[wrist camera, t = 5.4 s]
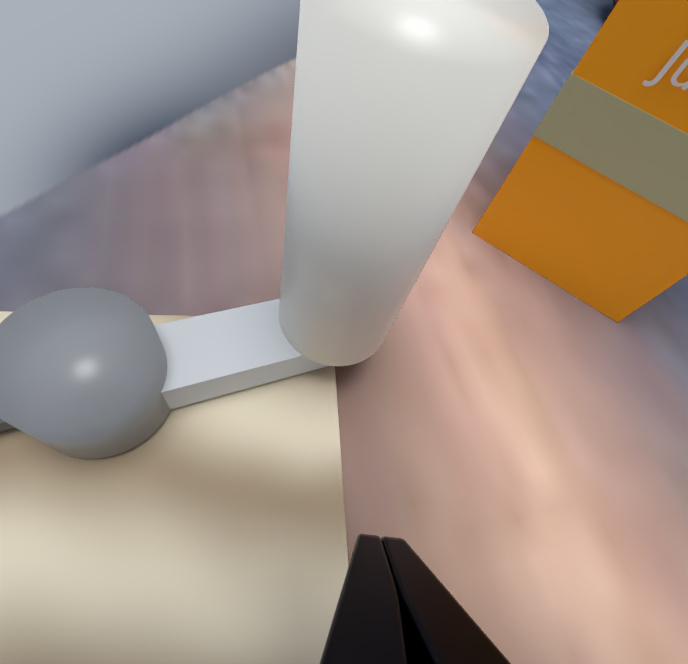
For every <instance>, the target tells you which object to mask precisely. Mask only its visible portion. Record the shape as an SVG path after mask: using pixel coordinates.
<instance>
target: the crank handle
mask: <svg viewBox="0 0 688 664" xmlns="http://www.w3.org/2000/svg"><path fill="white" fill-rule="evenodd" d="M548 34H549V25H548V22H547V18H546V16H545V14H544V12H543V10H542V9H541V7H540V6H539V4H538V3H537V2H536V0H301V1H300V15H299V29H298V44H297V59H296V73H295V88H294V102H293V117H292V131H291V146H290V160H289V175H288V189H287V204H286V218H285V233H284V247H283V262H282V277H281V291H280V299H276V300H271V301H267V302H262V303H257V304H252V305H248V306H243V307H238V308H234V309H229V310H224V311H219V312H215V313H210V314H205V315H201V316H196V317H191V318H187V319H182V320H177V321H172V322H168V323H163V324H158V325H154V324H153V322H152V320H151V318H150V317H149V315H148V314H147V312H146V311H145V310H144V309H143V308H142V307H141V306H140V305H139V304H137V303H136V302H135V301H133V300H132V299H130V298H128V297H127V296H124V295H122V294H120V293H117V292H114V291H111V290H107V289H101V288H90V287H83V288H71V289H64V290H60V291H55V292H52V293H49V294H46V295H43V296H41V297H38V298H36V299H34V300H32V301H30V302H28V303H26V304H24V305H23V306H21V307H20V308H18V309H17V310H15V311H14V312H12V313H11V314H10V315H9V316H8V317H6V318H5V319H4V320H3V321H2V322H1V323H0V431H4V430H8V429H12V428H17V429H19V430H21V431H22V432H24V433H26V434H28V435H30V436H31V437H33V438H35V439H37V440H38V441H40V442H42V443H44V444H46V445H47V446H49V447H51V448H53V449H54V450H56V451H58V452H60V453H63V454H65V455H68V456H71V457H75V458H82V459H98V458H106V457H110V456H114V455H117V454H120V453H123V452H126V451H128V450H130V449H132V448H134V447H136V446H137V445H139V444H140V443H142V442H143V441H145V440H146V439H147V438H149V437H150V436H151V435H152V434H153V433H154V432H155V431H156V430H157V429H158V428H159V427H160V425H161V424H162V423H163V422H164V420H165V419H166V417H167V415H168V414H169V412H170V410H171V409H174V408H177V407H181V406H185V405H188V404H192V403H196V402H199V401H203V400H207V399H210V398H214V397H217V396H221V395H225V394H228V393H232V392H236V391H239V390H243V389H247V388H250V387H254V386H258V385H261V384H265V383H269V382H272V381H276V380H279V379H283V378H287V377H290V376H294V375H298V374H301V373H305V372H309V371H312V370H316V369H320V368H323V367H327V366H348V365H353V364H356V363H359V362H362V361H364V360H366V359H367V358H369V357H370V356H372V355H373V354H374V353H375V352H376V351H377V350H378V349H379V348H380V346H381V345H382V343H383V341H384V340H385V338H386V336H387V334H388V332H389V330H390V329H391V327H392V325H393V323H394V321H395V319H396V318H397V316H398V314H399V312H400V310H401V308H402V307H403V305H404V303H405V301H406V299H407V297H408V295H409V294H410V292H411V290H412V288H413V286H414V284H415V283H416V281H417V279H418V277H419V275H420V273H421V272H422V270H423V268H424V266H425V264H426V262H427V260H428V259H429V257H430V255H431V253H432V251H433V249H434V248H435V246H436V244H437V242H438V240H439V238H440V237H441V235H442V233H443V231H444V229H445V227H446V225H447V224H448V222H449V220H450V218H451V216H452V214H453V213H454V211H455V209H456V207H457V205H458V203H459V202H460V200H461V198H462V196H463V194H464V192H465V190H466V189H467V187H468V185H469V183H470V181H471V179H472V178H473V176H474V174H475V172H476V170H477V168H478V167H479V165H480V163H481V161H482V159H483V157H484V155H485V154H486V152H487V150H488V148H489V146H490V144H491V143H492V141H493V139H494V137H495V135H496V133H497V132H498V130H499V128H500V126H501V124H502V122H503V120H504V119H505V117H506V115H507V113H508V111H509V109H510V108H511V106H512V104H513V102H514V100H515V98H516V97H517V95H518V93H519V91H520V89H521V87H522V85H523V84H524V82H525V80H526V78H527V76H528V74H529V73H530V71H531V69H532V67H533V65H534V63H535V62H536V60H537V58H538V56H539V54H540V52H541V50H542V49H543V47H544V45H545V43H546V41H547V39H548Z"/></svg>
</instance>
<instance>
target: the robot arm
mask: <svg viewBox="0 0 688 664" xmlns="http://www.w3.org/2000/svg"><path fill="white" fill-rule="evenodd" d="M319 664H511V663H510V662H509V661H508V660H507V659H506V658H505V656H504V655H503V654H502V653H501V652H500V651H499V649H498V648H497V647H496V646H495V645H494V644H493V642H492V641H491V640H490V639H489V638H488V637H487V635H486V634H485V633H484V632H483V631H482V630H481V628H480V627H479V626H478V625H477V624H476V623H475V621H474V620H473V619H472V618H471V617H470V616H469V614H468V613H467V612H466V611H465V610H464V609H463V608H462V606H461V605H460V604H459V603H458V602H457V601H456V599H455V598H454V597H453V596H452V595H451V594H450V592H449V591H448V590H447V589H446V588H445V587H444V585H443V584H442V583H441V582H440V581H439V580H438V578H437V577H436V576H435V575H434V574H433V573H432V571H431V570H430V569H429V568H428V567H427V566H426V564H425V563H424V562H423V561H422V560H421V559H420V557H419V556H418V555H417V554H416V553H415V552H414V550H413V549H412V548H411V547H410V546H409V545H408V543H407V542H406V541H405V540H403V539H401V538H394V537H382V538H380V537H379V536H376V535H366V534H360V535H358V537H357V540H356V543H355V547H354V550H353V553H352V557H351V560H350V563H349V567H348V570H347V573H346V577H345V580H344V583H343V587H342V590H341V593H340V597H339V600H338V603H337V607H336V610H335V613H334V617H333V620H332V623H331V627H330V630H329V633H328V637H327V640H326V643H325V647H324V650H323V653H322V657H321V660H320V663H319Z"/></svg>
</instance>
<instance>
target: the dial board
mask: <svg viewBox="0 0 688 664" xmlns="http://www.w3.org/2000/svg"><path fill="white" fill-rule="evenodd" d="M11 313H12V312H0V323H1V322H2V321H3V320H4V319H5V318H6V317H8V316H9V315H10V314H11ZM149 317H150V318H151V320H152V322H153V324H154V325H158V324H163V323H168V322H172V321H177V320H182V319H187V318H191V317H196V316H168V315H149ZM347 570H348V552H347V537H346V523H345V508H344V493H343V479H342V464H341V449H340V435H339V420H338V405H337V391H336V376H335V366H327V367H323V368H320V369H316V370H312V371H309V372H305V373H301V374H298V375H294V376H290V377H287V378H283V379H279V380H276V381H272V382H269V383H265V384H261V385H258V386H254V387H250V388H247V389H243V390H239V391H236V392H232V393H228V394H225V395H221V396H217V397H214V398H210V399H207V400H203V401H199V402H196V403H192V404H188V405H185V406H181V407H177V408H174V409H171V410H170V412H169V414H168V415H167V417H166V419H165V420H164V422H163V423H162V424H161V425H160V427H159V428H158V429H157V430H156V431H155V432H154V433H153V434H152V435H151V436H150V437H149V438H147V439H146V440H145V441H143V442H142V443H140V444H139V445H137V446H136V447H134V448H132V449H130V450H128V451H126V452H123V453H120V454H117V455H114V456H110V457H106V458H98V459H82V458H75V457H71V456H68V455H65V454H63V453H60V452H58V451H56V450H54V449H53V448H51V447H49V446H47V445H46V444H44V443H42V442H40V441H38V440H37V439H35V438H33V437H31V436H30V435H28V434H26V433H24V432H22V431H21V430H19V429H17V428H12V429H8V430H4V431H0V664H319V663H320V660H321V657H322V653H323V650H324V647H325V643H326V640H327V637H328V633H329V630H330V627H331V623H332V620H333V617H334V613H335V610H336V607H337V603H338V600H339V597H340V593H341V590H342V587H343V583H344V580H345V577H346V573H347Z"/></svg>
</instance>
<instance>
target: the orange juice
mask: <svg viewBox="0 0 688 664" xmlns="http://www.w3.org/2000/svg"><path fill="white" fill-rule="evenodd" d="M472 233H474V234H475V235H477V236H479V237H480V238H482V239H483V240H485V241H487V242H488V243H490V244H491V245H493V246H495V247H496V248H498V249H500V250H501V251H503V252H504V253H506V254H508V255H509V256H511V257H512V258H514V259H516V260H517V261H519V262H521V263H522V264H524V265H525V266H527V267H529V268H530V269H532V270H533V271H535V272H537V273H538V274H540V275H541V276H543V277H545V278H546V279H548V280H550V281H551V282H553V283H554V284H556V285H558V286H559V287H561V288H562V289H564V290H566V291H567V292H569V293H571V294H572V295H574V296H575V297H577V298H579V299H580V300H582V301H583V302H585V303H587V304H588V305H590V306H591V307H593V308H595V309H596V310H598V311H600V312H601V313H603V314H604V315H606V316H608V317H609V318H611V319H612V320H614V321H616V322H619V321H620V320H622V319H623V318H625V317H626V316H628V315H629V314H631V313H632V312H634V311H635V310H636V309H638V308H639V307H641V306H642V305H644V304H645V303H647V302H648V301H650V300H651V299H652V298H654V297H655V296H657V295H658V294H660V293H661V292H663V291H664V290H666V289H667V288H669V287H670V286H671V285H673V284H674V283H676V282H677V281H679V280H680V279H682V278H683V277H685V276H686V275H688V0H619V1H618V2H617V4H616V5H615V7H614V8H613V10H612V12H611V13H610V15H609V16H608V18H607V20H606V21H605V23H604V24H603V26H602V28H601V29H600V31H599V32H598V34H597V35H596V37H595V39H594V40H593V42H592V43H591V45H590V47H589V48H588V50H587V51H586V53H585V54H584V56H583V58H582V59H581V61H580V62H579V64H578V66H577V67H576V68H575V69H574V71H573V72H572V73H571V74H570V76H569V78H568V79H567V81H566V82H565V84H564V86H563V87H562V89H561V90H560V92H559V94H558V95H557V97H556V98H555V100H554V101H553V103H552V105H551V106H550V108H549V109H548V111H547V113H546V114H545V116H544V117H543V119H542V121H541V122H540V124H539V125H538V127H537V129H536V130H535V132H534V133H533V137H532V139H531V140H530V142H529V143H528V145H527V146H526V148H525V150H524V151H523V153H522V154H521V156H520V158H519V159H518V161H517V162H516V164H515V165H514V167H513V169H512V170H511V172H510V173H509V175H508V177H507V178H506V180H505V181H504V183H503V185H502V186H501V188H500V189H499V191H498V192H497V194H496V196H495V197H494V199H493V200H492V202H491V204H490V205H489V207H488V208H487V210H486V211H485V213H484V215H483V216H482V218H481V219H480V221H479V223H478V224H477V226H476V227H475V229H474V230H473V232H472Z"/></svg>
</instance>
